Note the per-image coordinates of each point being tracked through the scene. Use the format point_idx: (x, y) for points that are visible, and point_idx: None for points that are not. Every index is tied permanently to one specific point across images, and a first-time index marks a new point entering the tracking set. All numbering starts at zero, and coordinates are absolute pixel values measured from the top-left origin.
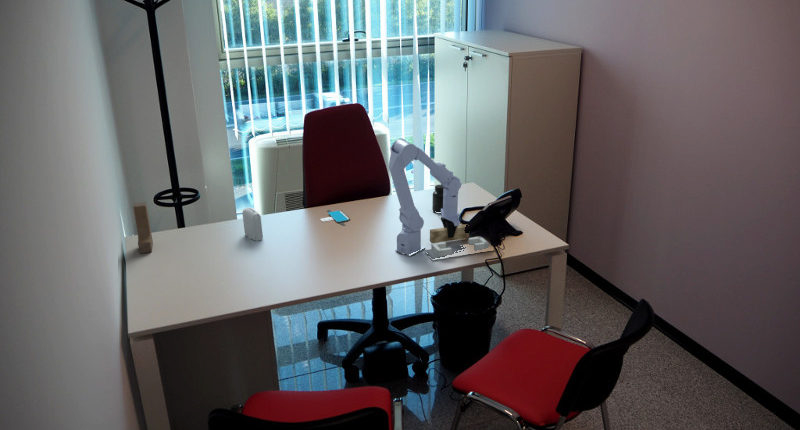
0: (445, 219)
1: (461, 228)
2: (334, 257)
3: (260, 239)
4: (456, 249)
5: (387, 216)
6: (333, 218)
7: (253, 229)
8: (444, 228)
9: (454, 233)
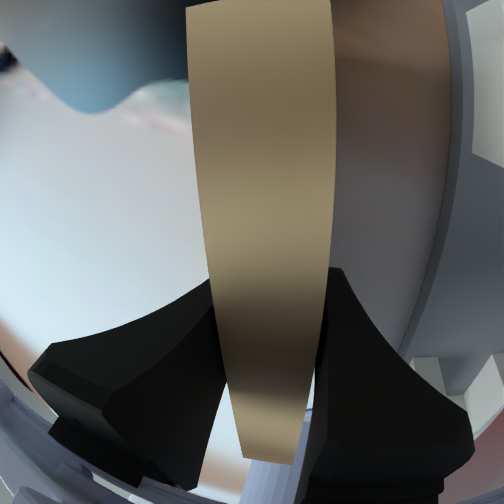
0: (176, 476)
1: (332, 183)
2: None
3: (168, 485)
4: (490, 301)
5: (19, 331)
6: None
7: None
8: (256, 403)
9: (353, 296)
